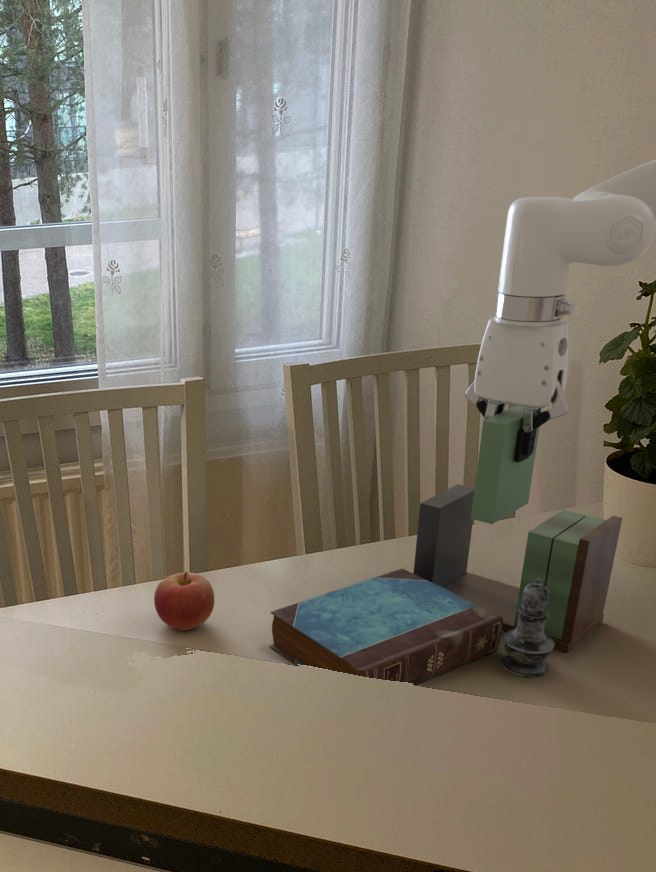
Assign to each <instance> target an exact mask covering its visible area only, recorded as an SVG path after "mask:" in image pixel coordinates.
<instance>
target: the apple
mask: <svg viewBox="0 0 656 872" xmlns="http://www.w3.org/2000/svg"><path fill="white" fill-rule="evenodd" d="M153 601H154V602H153V603H154V608H155V611H156V613H157V616H158V617H159V618H160V620H161V621H162V622H163V623H164V624H166V625H167V626H168V627H170V628H172V629H175V630H179V631H189V630H193V629H195V628H197V627H199V626H201V625H203V624H204V623H205V622H206V621H207V620H208V619H209V618H210V616H211V615H212V613H213V611H214V607H215V591H214V589H213V586H212V584H211V583H210V580H208V579H207V578H206V577H204V576H203V574H202V575H201V574H199V573H196V572H188V571H184V572H179V573H174V574H171V575H168V576H167V577H164V578H163V579H162V580H161V581H160V582H159V583H158V585H157V586H156V588H155V591H154V597H153Z"/></svg>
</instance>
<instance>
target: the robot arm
mask: <svg viewBox="0 0 656 872" xmlns="http://www.w3.org/2000/svg"><path fill="white" fill-rule="evenodd" d="M655 236H656V159H653V160H651V161H647V162H645V163H642V164H639V165H637V166H635V167H633V168H631V169H629V170H625V171H624V172H622V173H620V174H617V175H615V176H612V177H610V178H609V179H607V180H604V181H602V182H600V183H598V184H595V185H594V186H592V187H590V188H587V189H586V190H584V191H582V192H580V193H579V194H577V195H575V196H574V197H573V198H569V197H565V196H526V197H520V198H518V199H515V200H514V201H513V202H512V203H511V204H510V206H509V207H508V211H507V215H506V223H505V231H504V240H503V245H502V246H503V247H502V255H501V263H500V271H499V279H498V286H497V294H496V301H495V309H494V316H492V317H490V318H489V319H488V321H487V325H486V327H485V331H484V334H483V338H482V341H481V344H480V347H479V348H480V349H479V351H478V357H477V362H476V367H475V373H474V380H473V381H472V383H471V384H470V386H469V387H468V389H467V390H466V392H465V393H464V397H465V399H466V400H468V402H470V403H471V404H472V405H473V406H475V407H476V409H477V410H478V411H479V413H480V414H481V416H482V418H483V420H485V419H488V418H490V417H492V416H495V415H497V414H499V413H502V412H504V411H506V406H507V404H508V405H514V406H524V407H523V426H522V430H521V431H519V432H518V434H517V440H516V447H515V454H514V461H515V462H519V463H520V462H521V461H523V460H525V459H527V458H529V456H530V455H531V454H532V453H533V450H534V444H535V437H536V431H537V428H539V427H540V428H541V427H542V426H543V425H544V424H546V423H547V422H548V421H550V420H553V419H556V418H560V417H562V416H565V415H568V414H569V412H570V406H569V403H568V401H567V397H566V395H565V393H566V387H567V379H568V369H569V355H570V354H569V352H570V349H569V348H570V346H569V345H570V344H569V339H570V338H569V335H570V334H569V323H568V321H564V320H562V319H563V318H564V316H566V315H567V316H568V315H569V316H572V315H573V313H574V311H575V308H576V305H575V303H574V302H569V300H568V301H567V294H566V291H567V283H568V278H569V277H568V276H569V270H570V265H571V263H577V264H588V265H595V266H600V267H601V266H603V267H617V266H622V265H626V264H629V263H632V262H633V261H635V260H637V259H638V258H640V257H641V256H642V255H643V254H645V252H647V250H648V249H649V248H650V247H651V246H652V243H653V241H654V239H655ZM550 404H552V407H551V408H548V409H546V410H543V409H544V408H547V407H549V405H550Z"/></svg>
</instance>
